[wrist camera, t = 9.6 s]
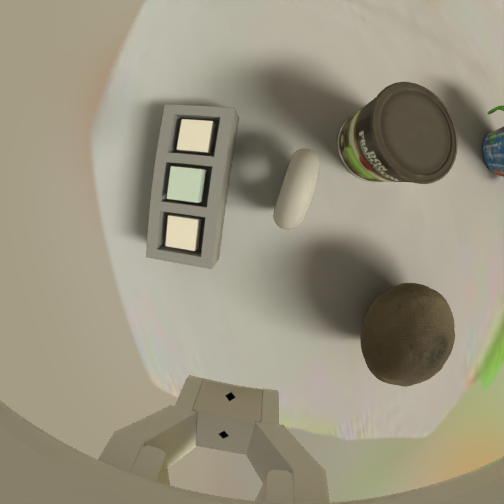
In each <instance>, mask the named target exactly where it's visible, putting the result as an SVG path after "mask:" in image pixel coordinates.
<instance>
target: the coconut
mask: <svg viewBox="0 0 504 504" xmlns="http://www.w3.org/2000/svg"><path fill="white" fill-rule="evenodd" d="M454 339H455V332H454V319H453V315H452V312H451V309H450V307H449V305H448V303H447V301H446V300H445V298H444V297H443V296H442V295H441V294H440V293H438V292H437V291H435V290H433V289H431V288H429V287H427V286H424V285H421V284H416V283H403V284H400V285H397V286H394V287H392V288H390V289H388V290H386V291H385V292H383V293H382V294H380V295H379V296H378V297H377V298H376V299H375V300H374V301H373V303H372V304H371V306H370V308H369V310H368V311H367V313H366V315H365V317H364V320H363V324H362V330H361V348H362V353H363V356H364V358H365V361H366V364H367V366H368V368H369V370H370V371H371V372H372V373H373V375H374V376H375V377H376V378H378V379H379V380H381V381H383V382H386V383H389V384H394V385H400V386H411V385H414V384H417V383H421V382H423V381H426V380H428V379H430V378H431V377H432V376H434V375H435V374H436V373H437V372H439V371H440V370H441V369H442V367H443V365H444V364H445V362H446V360H447V359H448V357H449V355H450V353H451V351H452V348H453V344H454Z"/></svg>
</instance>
